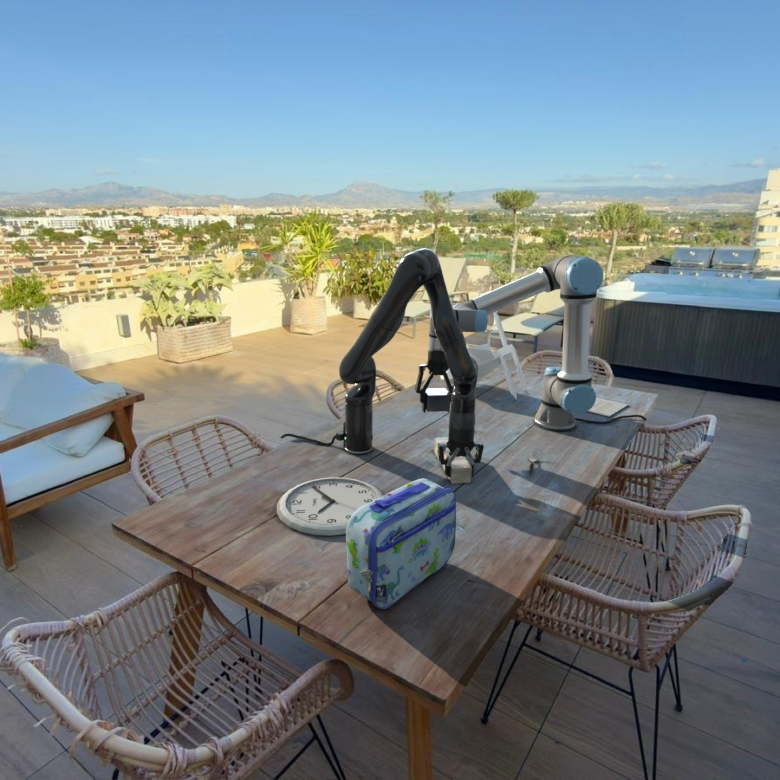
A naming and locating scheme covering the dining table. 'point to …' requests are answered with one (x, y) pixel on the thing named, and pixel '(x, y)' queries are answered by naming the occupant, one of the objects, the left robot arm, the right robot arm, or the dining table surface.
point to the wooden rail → (455, 464)
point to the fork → (533, 461)
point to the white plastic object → (495, 360)
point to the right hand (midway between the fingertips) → (435, 411)
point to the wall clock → (324, 504)
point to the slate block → (437, 399)
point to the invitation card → (606, 407)
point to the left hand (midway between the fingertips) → (458, 475)
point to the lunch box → (400, 540)
